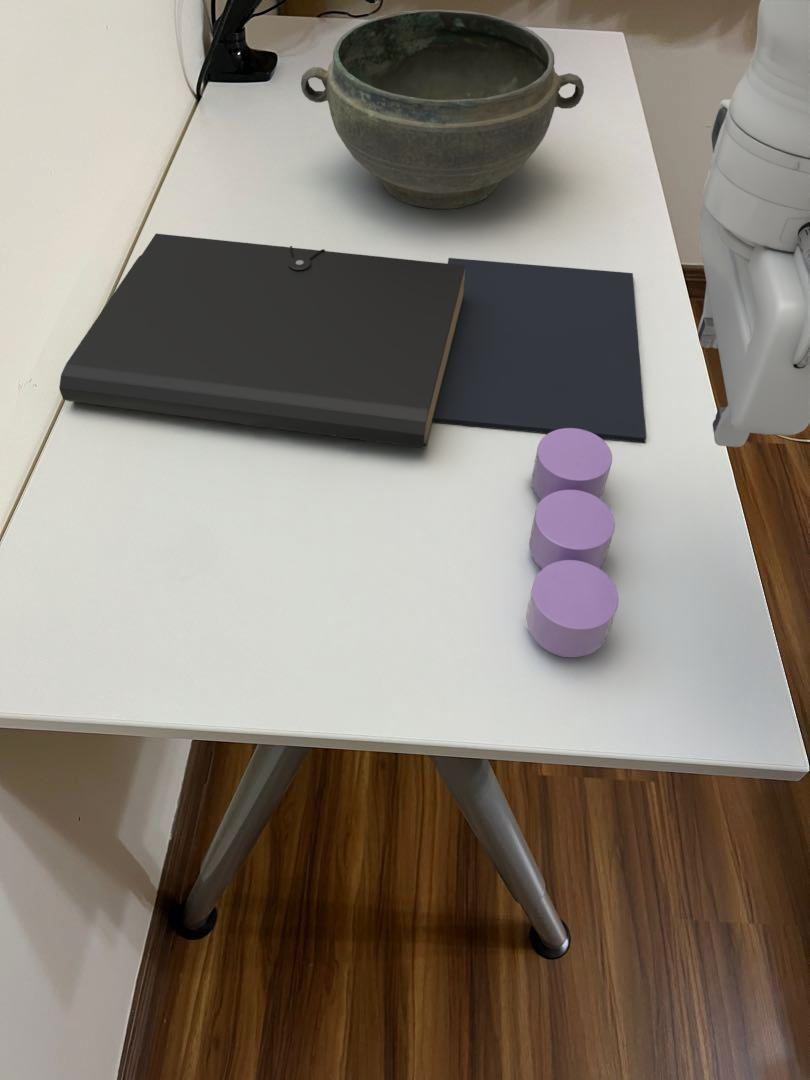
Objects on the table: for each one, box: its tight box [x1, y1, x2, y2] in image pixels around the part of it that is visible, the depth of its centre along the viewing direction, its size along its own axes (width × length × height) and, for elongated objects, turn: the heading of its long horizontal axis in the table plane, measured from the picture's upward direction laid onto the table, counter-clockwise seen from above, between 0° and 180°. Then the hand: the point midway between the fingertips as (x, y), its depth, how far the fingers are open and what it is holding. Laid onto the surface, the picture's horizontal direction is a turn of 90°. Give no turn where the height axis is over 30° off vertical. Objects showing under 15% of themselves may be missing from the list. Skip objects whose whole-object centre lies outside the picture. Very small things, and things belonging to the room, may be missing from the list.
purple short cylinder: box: [531, 428, 613, 501], centre depth 70 cm, size 6×6×5 cm
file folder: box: [59, 233, 466, 449], centre depth 81 cm, size 33×4×24 cm
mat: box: [432, 257, 647, 443], centre depth 84 cm, size 20×26×1 cm
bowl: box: [300, 9, 585, 210], centre depth 99 cm, size 32×26×15 cm
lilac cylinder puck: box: [528, 490, 616, 570], centre depth 65 cm, size 6×6×5 cm
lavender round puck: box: [525, 560, 619, 658], centre depth 61 cm, size 6×6×5 cm
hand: (717, 387), depth 54 cm, fingers open, 8 cm apart
